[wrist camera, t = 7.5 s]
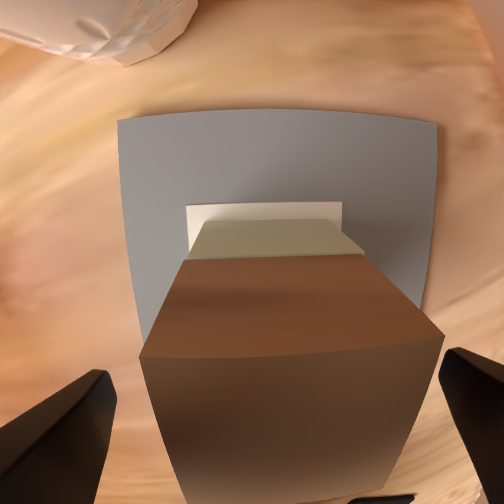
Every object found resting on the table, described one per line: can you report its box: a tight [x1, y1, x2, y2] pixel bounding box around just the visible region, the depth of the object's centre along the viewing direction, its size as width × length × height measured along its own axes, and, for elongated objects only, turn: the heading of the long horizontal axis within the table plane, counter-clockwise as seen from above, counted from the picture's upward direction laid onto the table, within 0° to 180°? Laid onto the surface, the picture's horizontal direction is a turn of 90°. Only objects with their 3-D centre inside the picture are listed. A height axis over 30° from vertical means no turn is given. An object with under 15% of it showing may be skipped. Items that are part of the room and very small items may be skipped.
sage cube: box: [187, 219, 365, 260], centre depth 12 cm, size 5×5×4 cm
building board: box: [117, 109, 438, 344], centre depth 15 cm, size 16×14×1 cm
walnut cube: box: [139, 254, 445, 504], centre depth 7 cm, size 5×5×4 cm
